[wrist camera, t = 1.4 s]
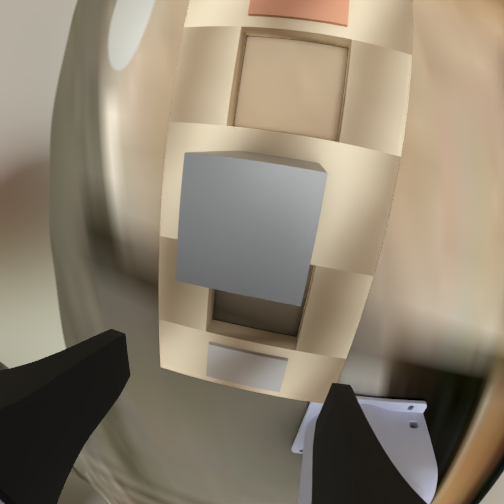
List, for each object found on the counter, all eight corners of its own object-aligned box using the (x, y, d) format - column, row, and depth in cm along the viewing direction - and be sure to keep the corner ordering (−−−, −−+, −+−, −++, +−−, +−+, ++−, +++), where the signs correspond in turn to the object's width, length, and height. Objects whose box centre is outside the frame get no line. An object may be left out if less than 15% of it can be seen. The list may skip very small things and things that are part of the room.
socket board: (405, 4, 12) (413, -9, 10) (327, 389, 20) (327, 407, 19) (205, -19, 13) (195, -32, 11) (168, 355, 22) (158, 369, 20)
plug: (319, 163, 14) (327, 173, 8) (305, 240, 16) (300, 306, 9) (238, 150, 15) (184, 152, 8) (229, 227, 16) (175, 280, 10)
